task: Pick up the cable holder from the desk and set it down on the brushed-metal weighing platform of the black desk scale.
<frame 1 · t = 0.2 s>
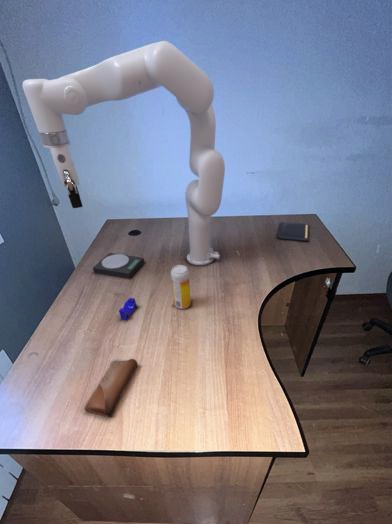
hand: (76, 202, 90), 31 cm above the table, tool pointing down, fingers open, 9 cm apart
black flat rectangular slab: (293, 232, 139), on the table
scale: (120, 267, 120), on the table
sunglasses case: (113, 387, 75), on the table
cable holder: (127, 313, 98), on the table
pill bottle: (182, 305, 100), on the table
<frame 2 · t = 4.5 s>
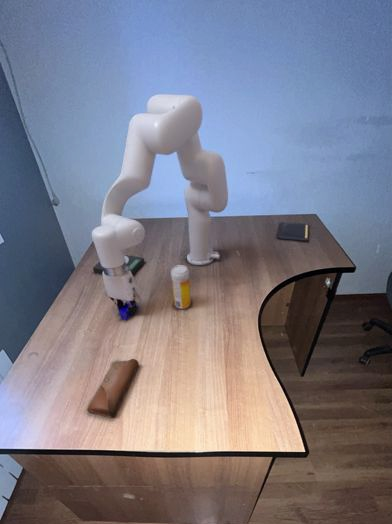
hand: (127, 312, 97), 0 cm above the table, tool pointing down, fingers closed on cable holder, 3 cm apart
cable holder: (127, 313, 98), on the table, touching gripper
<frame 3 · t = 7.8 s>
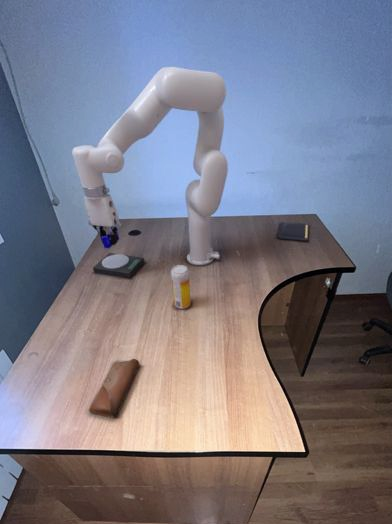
hand: (110, 242, 104), 15 cm above the table, tool pointing down, fingers closed on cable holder, 3 cm apart
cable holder: (110, 243, 104), point 15 cm above the table, touching gripper
when the fingers open (3 cm above the table, at t = 11.4 s): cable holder stays where it is, resting on scale.
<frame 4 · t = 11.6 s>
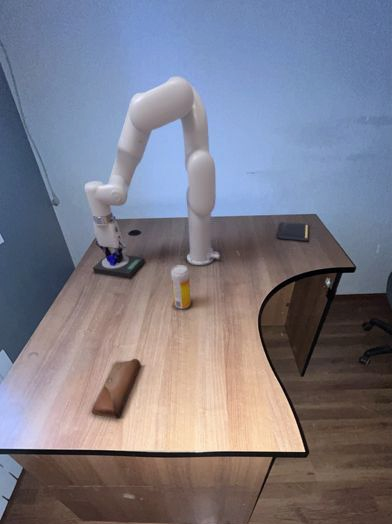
hand: (115, 260, 118), 3 cm above the table, tool pointing down, fingers open, 4 cm apart
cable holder: (115, 261, 118), point 3 cm above the table, touching scale
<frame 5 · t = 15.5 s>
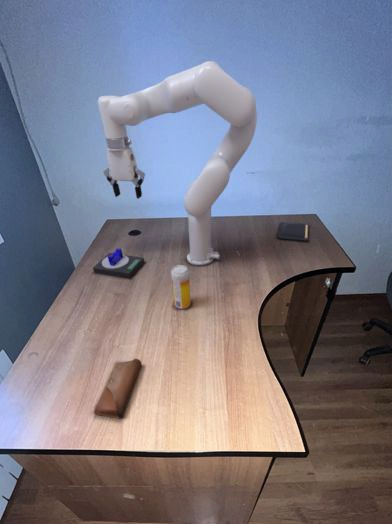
hand: (128, 196, 107), 26 cm above the table, tool pointing down, fingers open, 9 cm apart
at the end: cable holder inside the target area on the scale (0.0 cm from its centre), point 2.9 cm above the scale's base; the gripper is holding nothing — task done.
